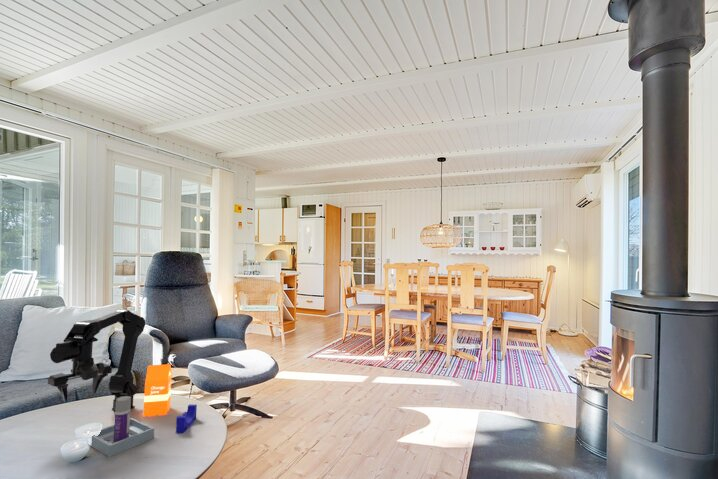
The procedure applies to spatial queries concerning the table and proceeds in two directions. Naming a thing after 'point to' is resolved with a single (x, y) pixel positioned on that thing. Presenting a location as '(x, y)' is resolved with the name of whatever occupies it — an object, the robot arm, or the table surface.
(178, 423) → the cable clip
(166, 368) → the orange juice
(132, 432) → the walled box
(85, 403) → the table surface
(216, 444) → the table surface
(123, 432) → the container
